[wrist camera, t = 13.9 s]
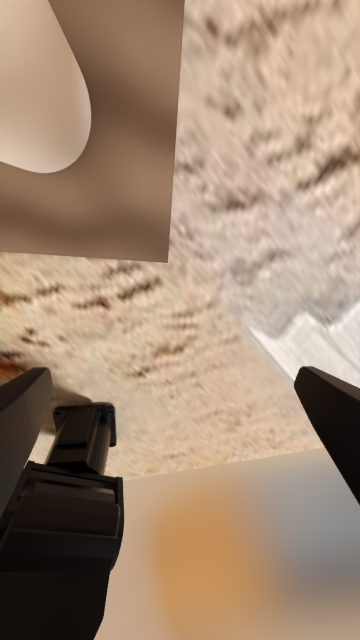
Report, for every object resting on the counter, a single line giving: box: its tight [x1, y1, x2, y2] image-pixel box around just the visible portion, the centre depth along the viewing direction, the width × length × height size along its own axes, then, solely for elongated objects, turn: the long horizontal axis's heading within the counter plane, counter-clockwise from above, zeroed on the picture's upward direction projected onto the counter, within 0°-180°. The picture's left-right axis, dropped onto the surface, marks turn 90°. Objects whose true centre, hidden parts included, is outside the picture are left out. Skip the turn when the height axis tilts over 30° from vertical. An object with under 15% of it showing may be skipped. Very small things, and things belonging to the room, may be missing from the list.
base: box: [0, 0, 185, 263], centre depth 13 cm, size 16×16×2 cm
